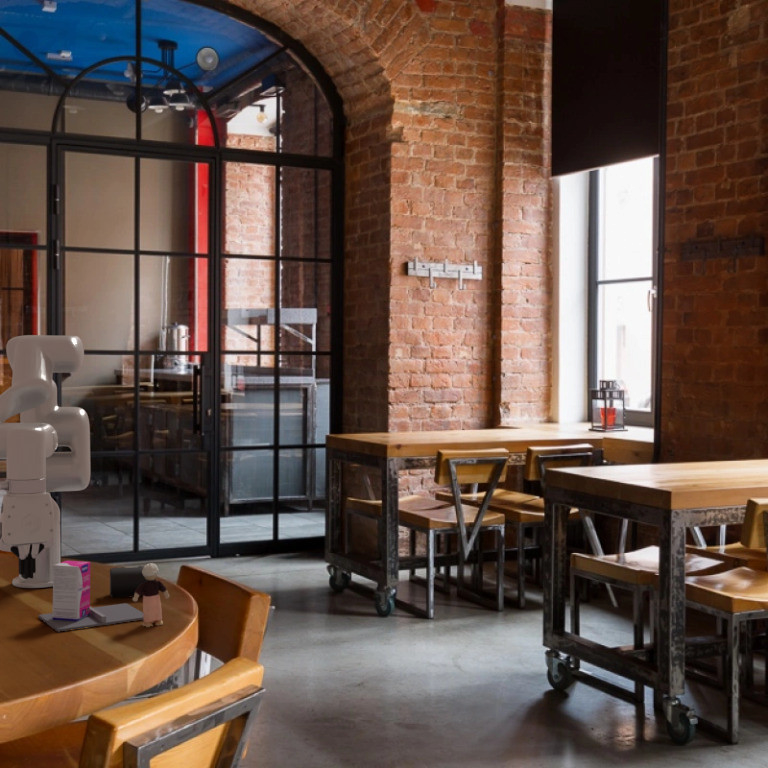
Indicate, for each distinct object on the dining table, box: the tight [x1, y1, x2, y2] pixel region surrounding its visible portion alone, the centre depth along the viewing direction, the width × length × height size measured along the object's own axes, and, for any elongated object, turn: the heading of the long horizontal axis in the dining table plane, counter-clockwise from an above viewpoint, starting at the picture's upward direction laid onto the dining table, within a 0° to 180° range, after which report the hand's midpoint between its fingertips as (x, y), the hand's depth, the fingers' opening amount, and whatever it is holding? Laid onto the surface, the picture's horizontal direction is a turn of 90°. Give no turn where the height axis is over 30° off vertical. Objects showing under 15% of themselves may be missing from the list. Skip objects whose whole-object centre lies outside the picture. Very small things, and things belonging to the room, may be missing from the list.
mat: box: [38, 602, 144, 633], centre depth 222 cm, size 14×19×2 cm
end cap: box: [109, 565, 157, 598], centre depth 243 cm, size 10×7×7 cm
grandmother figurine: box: [131, 563, 170, 628], centre depth 217 cm, size 8×4×13 cm, turn 135°
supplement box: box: [52, 560, 92, 622], centre depth 220 cm, size 6×6×12 cm
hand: (27, 577), depth 215 cm, fingers closed
